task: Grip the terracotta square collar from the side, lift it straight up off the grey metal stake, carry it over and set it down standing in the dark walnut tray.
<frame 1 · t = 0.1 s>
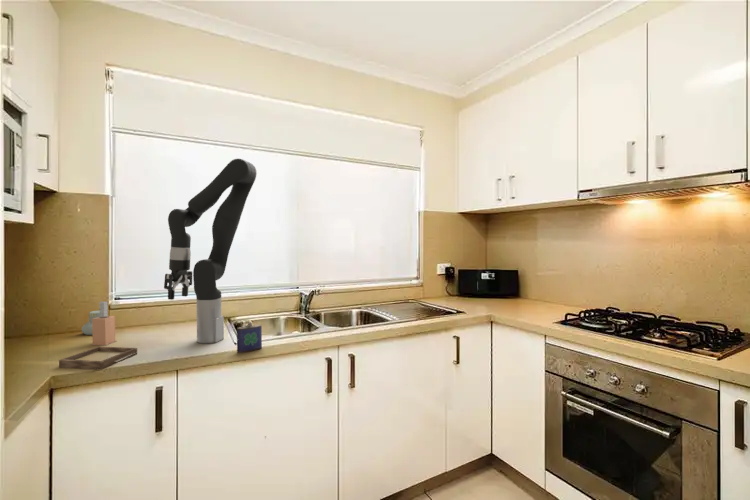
hand: (178, 297, 150), 17 cm above the countertop, tool pointing down, fingers open, 8 cm apart
tray: (100, 360, 124), on the countertop
air freshener: (98, 335, 157), on the countertop
stake: (104, 345, 141), on the countertop
collar: (104, 343, 141), point 1 cm above the countertop, touching stake
flask: (249, 350, 136), on the countertop
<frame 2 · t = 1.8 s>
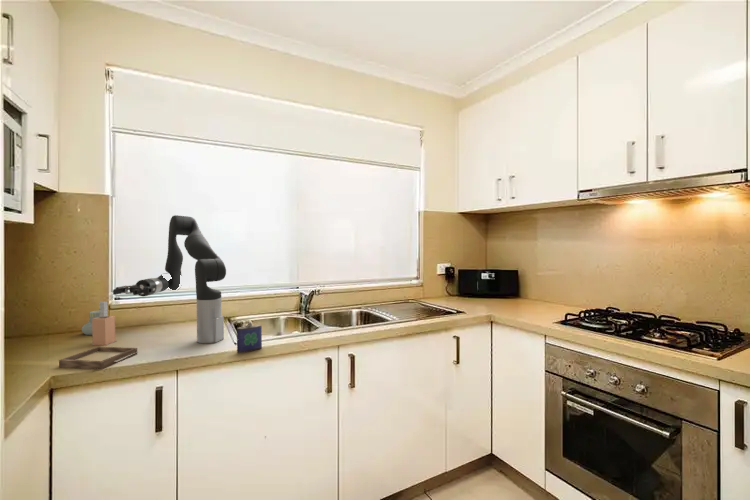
hand: (124, 292, 152), 19 cm above the countertop, tool horizontal, fingers open, 8 cm apart
nothing on the countertop moved.
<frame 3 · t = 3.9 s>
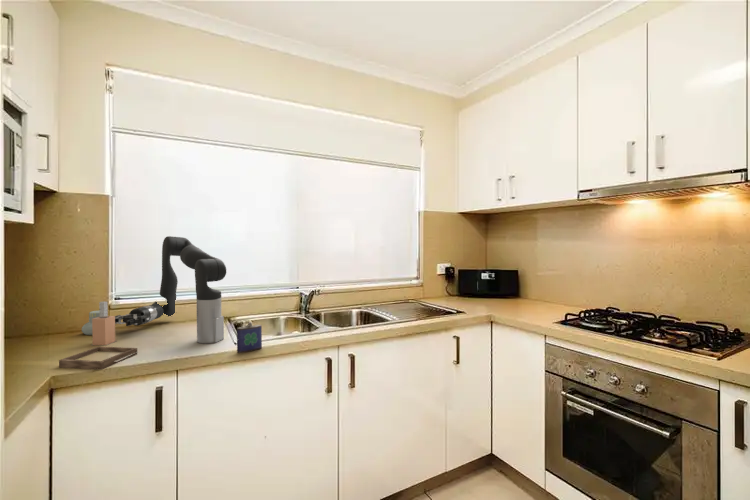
hand: (116, 323, 147), 7 cm above the countertop, tool horizontal, fingers open, 8 cm apart
nothing on the countertop moved.
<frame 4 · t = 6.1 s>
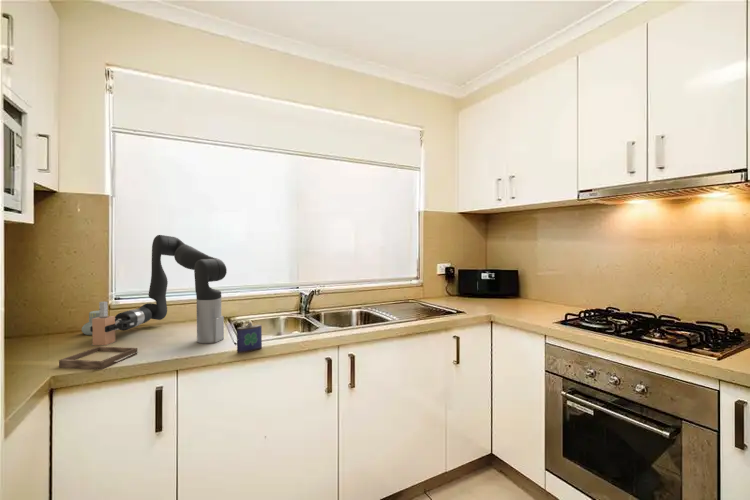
hand: (98, 329, 138), 7 cm above the countertop, tool horizontal, fingers closed on collar, 5 cm apart
collar: (104, 343, 141), point 1 cm above the countertop, touching gripper, stake
everything else where it was.
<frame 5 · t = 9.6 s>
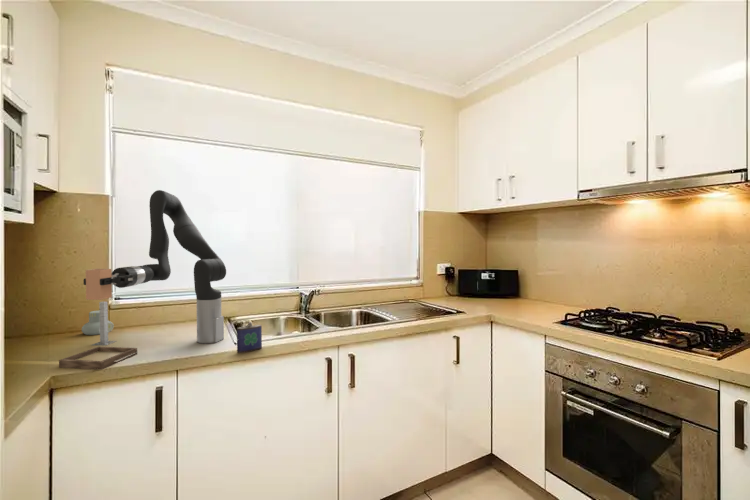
hand: (92, 282, 122), 27 cm above the countertop, tool horizontal, fingers closed on collar, 5 cm apart
collar: (99, 298, 125), point 21 cm above the countertop, touching gripper
everything else where it was.
when the fingers open (8 cm above the countertop, at t = 13.3 s): collar drops 1 cm, resting on tray.
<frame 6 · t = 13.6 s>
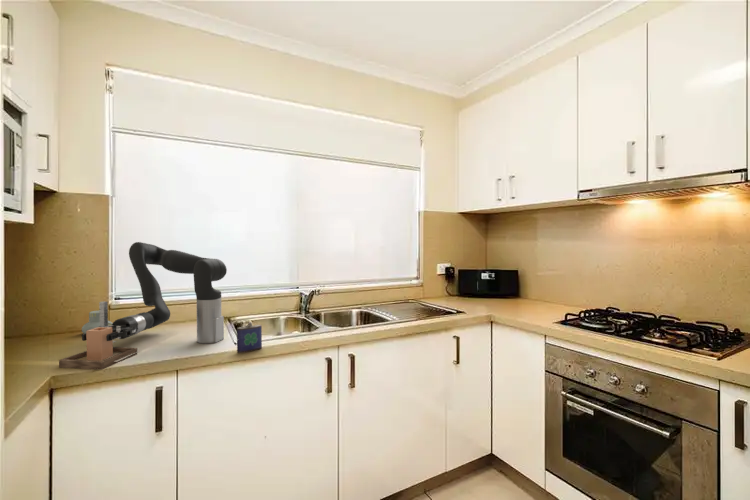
hand: (95, 337, 122), 8 cm above the countertop, tool horizontal, fingers open, 8 cm apart
collar: (100, 358, 124), point 1 cm above the countertop, touching tray
everything else where it was.
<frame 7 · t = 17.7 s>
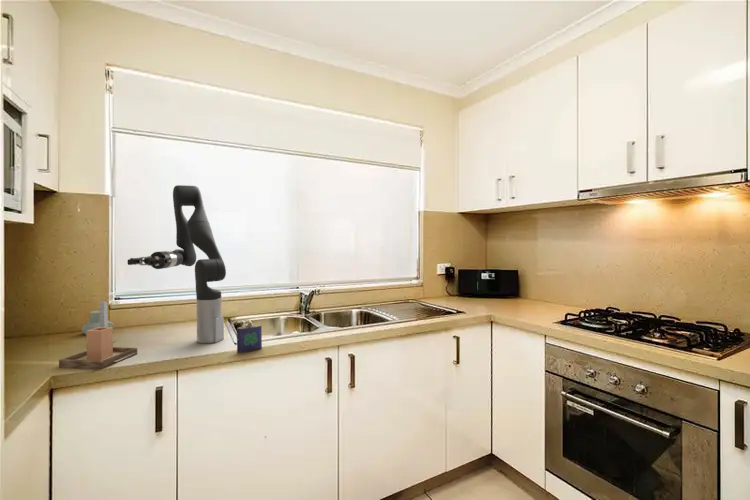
hand: (139, 262, 145), 32 cm above the countertop, tool horizontal, fingers open, 8 cm apart
nothing on the countertop moved.
at the end: collar inside the target area on the tray (0.0 cm from its centre), point 0.8 cm above the tray's base; collar tilted 0°; the gripper is holding nothing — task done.
